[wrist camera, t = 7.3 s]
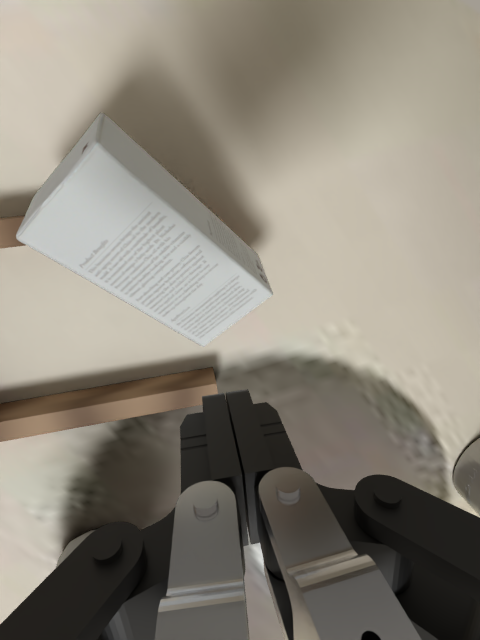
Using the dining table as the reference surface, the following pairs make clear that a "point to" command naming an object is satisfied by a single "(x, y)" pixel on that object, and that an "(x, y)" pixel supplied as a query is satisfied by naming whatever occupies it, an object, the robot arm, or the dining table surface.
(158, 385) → the brown wooden frame
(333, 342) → the dining table surface
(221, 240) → the skincare box
